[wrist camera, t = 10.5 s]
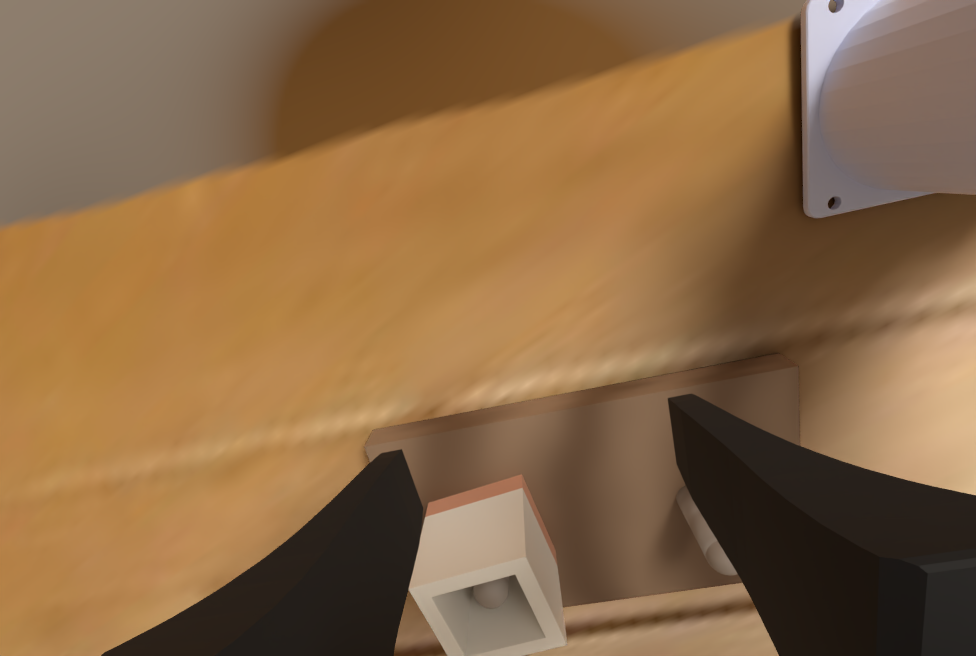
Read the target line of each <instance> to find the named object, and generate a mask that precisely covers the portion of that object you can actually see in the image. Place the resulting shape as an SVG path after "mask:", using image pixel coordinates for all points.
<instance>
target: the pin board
mask: <svg viewBox="0 0 976 656" xmlns="http://www.w3.org/2000/svg"><path fill="white" fill-rule="evenodd" d="M691 393H692V394H694V395H696V396H698V397H700V398H702V399H704V400H706V401H708V402H710V403H712V404H713V405H715V406H717V407H719V408H721V409H723V410H725V411H727V412H728V413H730V414H732V415H734V416H736V417H738V418H740V419H742V420H744V421H746V422H748V423H750V424H752V425H754V426H756V427H758V428H760V429H762V430H764V431H767V432H769V433H771V434H773V435H775V436H778V437H780V438H782V439H785V440H787V441H789V442H792V443H794V444H796V445H799V446H800V411H799V366H798V365H796V364H795V363H793V362H792V361H790V360H789V359H787V358H786V357H784V356H783V355H781V354H780V353H777V354H771V355H766V356H761V357H755V358H750V359H745V360H740V361H734V362H729V363H724V364H719V365H713V366H708V367H703V368H697V369H692V370H687V371H682V372H676V373H671V374H666V375H661V376H655V377H650V378H645V379H639V380H634V381H629V382H624V383H618V384H613V385H608V386H603V387H597V388H592V389H587V390H581V391H576V392H571V393H566V394H560V395H555V396H550V397H545V398H539V399H534V400H529V401H523V402H518V403H513V404H508V405H502V406H497V407H492V408H487V409H481V410H476V411H471V412H465V413H460V414H455V415H450V416H444V417H439V418H434V419H428V420H423V421H418V422H413V423H407V424H402V425H397V426H392V427H386V428H381V429H376V430H373V431H372V433H371V435H370V437H369V438H368V440H367V442H366V444H365V446H364V448H365V450H366V453H367V456H368V458H369V461H370V462H372V461H373V460H374V459H375V458H376V457H377V456H378V455H380V454H381V453H384V452H389V451H395V450H400V449H402V451H403V453H404V456H405V459H406V462H407V464H408V467H409V470H410V473H411V475H412V478H413V481H414V484H415V487H416V489H417V492H418V495H419V498H420V500H421V503H422V506H423V517H422V528H423V524H424V520H425V515H426V511H427V507H428V503H429V502H433V501H436V500H439V499H443V498H446V497H449V496H452V495H456V494H459V493H462V492H465V491H469V490H472V489H475V488H478V487H482V486H485V485H488V484H491V483H495V482H498V481H501V480H505V479H508V478H511V477H514V476H518V475H521V474H522V476H523V478H524V480H525V483H526V485H527V487H528V489H529V492H530V494H531V496H532V498H533V501H534V503H535V505H536V507H537V510H538V512H539V514H540V516H541V519H542V521H543V523H544V526H545V528H546V530H547V532H548V535H549V537H550V539H551V541H552V544H553V546H554V548H555V551H556V559H557V567H558V574H559V582H560V590H561V598H562V606H563V607H569V606H576V605H583V604H590V603H598V602H605V601H612V600H620V599H627V598H634V597H641V596H649V595H656V594H663V593H671V592H678V591H685V590H693V589H700V588H707V587H714V586H722V585H729V584H736V583H743V582H742V580H741V579H740V577H739V575H738V574H737V572H736V570H735V569H734V567H733V565H732V564H731V562H730V561H729V559H728V557H727V556H726V554H725V552H724V551H723V549H722V547H721V546H720V544H719V543H718V541H717V539H716V538H715V536H714V534H713V533H712V531H711V529H710V528H709V526H708V525H707V523H706V521H705V520H704V518H703V516H702V515H701V513H700V511H699V510H698V508H697V506H696V505H695V503H694V501H693V500H692V498H691V495H690V493H689V491H688V489H687V487H686V485H685V482H684V480H683V478H682V475H681V473H680V471H679V469H678V466H677V464H676V456H675V449H674V442H673V434H672V427H671V420H670V413H669V405H668V398H670V397H676V396H681V395H686V394H691ZM422 528H421V533H422ZM420 537H421V536H420ZM508 593H509V576H508V577H504V578H500V579H497V580H493V581H489V582H486V583H482V584H478V585H475V586H473V594H474V597H475V599H476V601H477V602H478V603H479V604H480V605H481V606H483V607H485V608H488V609H494V608H497V607H499V606H501V605H502V604H503V603H504V602H505V600H506V599H507V597H508Z"/></svg>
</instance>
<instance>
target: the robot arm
mask: <svg viewBox="0 0 976 656" xmlns="http://www.w3.org/2000/svg"><path fill="white" fill-rule="evenodd" d="M834 1H835V2H836V10H835V12H834V13H832V12H830V11H829V8H828V5H829V2H830V0H807V1H806V2H805V4H804V6H803V8H802V10H801V76H802V152H803V209H804V213H805V214H806V215H807V216H809V217H812V218H823V217H828V216H832V215H837V214H842V213H846V212H851V211H855V210H860V209H864V208H869V207H873V206H878V205H883V204H887V203H892V202H896V201H901V200H905V199H910V198H915V197H919V196H924V195H928V194H933V193H951V194H968V195H976V0H834ZM832 197H834V199H835V202H834V205H833V206H832V207H831V208H828V201H829V200H830V199H831V198H832ZM668 405H669V413H670V420H671V427H672V434H673V442H674V449H675V456H676V464H677V466H678V469H679V471H680V473H681V475H682V478H683V480H684V482H685V485H686V487H687V489H688V491H689V493H690V495H691V498H692V500H693V501H694V503H695V505H696V506H697V508H698V510H699V511H700V513H701V515H702V516H703V518H704V520H705V521H706V523H707V525H708V526H709V528H710V529H711V531H712V533H713V534H714V536H715V538H716V539H717V541H718V543H719V544H720V546H721V547H722V549H723V551H724V552H725V554H726V556H727V557H728V559H729V561H730V562H731V564H732V565H733V567H734V569H735V570H736V572H737V574H738V575H739V577H740V579H741V580H742V582H743V584H744V586H745V588H746V589H747V591H748V593H749V595H750V597H751V599H752V601H753V603H754V605H755V607H756V609H757V611H758V613H759V615H760V617H761V619H762V621H763V623H764V625H765V627H766V629H767V631H768V633H769V635H770V637H771V640H772V642H773V644H774V646H775V648H776V650H777V652H778V654H779V656H976V495H971V494H966V493H961V492H957V491H952V490H947V489H942V488H938V487H933V486H929V485H925V484H920V483H916V482H912V481H908V480H904V479H900V478H896V477H893V476H889V475H886V474H882V473H879V472H875V471H871V470H868V469H864V468H861V467H858V466H855V465H852V464H848V463H845V462H842V461H839V460H837V459H834V458H831V457H828V456H825V455H822V454H820V453H817V452H814V451H811V450H809V449H806V448H804V447H801V446H799V445H796V444H794V443H792V442H789V441H787V440H785V439H782V438H780V437H778V436H775V435H773V434H771V433H769V432H767V431H764V430H762V429H760V428H758V427H756V426H754V425H752V424H750V423H748V422H746V421H744V420H742V419H740V418H738V417H736V416H734V415H732V414H730V413H728V412H727V411H725V410H723V409H721V408H719V407H717V406H715V405H713V404H712V403H710V402H708V401H706V400H704V399H702V398H700V397H698V396H696V395H694V394H692V393H691V394H686V395H681V396H676V397H670V398H668ZM422 517H423V506H422V503H421V500H420V498H419V495H418V492H417V489H416V487H415V484H414V481H413V478H412V475H411V473H410V470H409V467H408V464H407V462H406V459H405V456H404V453H403V451H402V449H400V450H395V451H389V452H384V453H381V454H380V455H378V456H377V457H376V458H375V459H374V460H373V461H372V462H370V463H369V464H368V465H367V466H366V467H365V468H364V469H363V470H362V471H361V472H360V473H359V474H358V475H357V476H356V477H355V478H354V479H353V480H352V481H351V482H350V483H349V484H348V485H347V486H346V487H345V488H344V489H343V490H342V491H341V492H340V493H339V494H338V495H337V496H336V497H335V498H334V499H333V500H332V501H331V502H330V503H329V504H327V505H326V506H325V507H324V508H323V509H322V510H321V511H320V512H319V513H318V514H317V515H315V516H314V517H313V518H312V519H311V520H310V521H309V522H308V523H307V524H306V525H305V526H303V527H302V528H301V529H300V530H299V531H298V532H297V533H295V534H294V535H293V536H292V537H291V538H289V539H288V540H287V541H286V542H284V543H283V544H282V545H281V546H279V547H278V548H277V549H275V550H274V551H273V552H272V553H270V554H269V555H268V556H266V557H265V558H264V559H262V560H261V561H260V562H258V563H257V564H255V565H254V566H252V567H251V568H250V569H248V570H247V571H245V572H244V573H242V574H241V575H239V576H238V577H236V578H235V579H234V580H232V581H231V582H229V583H228V584H226V585H225V586H223V587H222V588H220V589H219V590H217V591H216V592H214V593H212V594H211V595H209V596H207V597H206V598H204V599H203V600H201V601H199V602H198V603H196V604H194V605H193V606H191V607H189V608H188V609H186V610H184V611H182V612H181V613H179V614H177V615H176V616H174V617H172V618H170V619H168V620H167V621H165V622H163V623H161V624H159V625H157V626H155V627H154V628H152V629H150V630H148V631H146V632H144V633H142V634H140V635H138V636H136V637H134V638H132V639H130V640H128V641H127V642H125V643H123V644H121V645H119V646H117V647H115V648H113V649H111V650H109V651H107V652H105V653H103V654H102V655H101V656H393V655H394V648H395V643H396V638H397V633H398V628H399V624H400V620H401V616H402V612H403V608H404V604H405V600H406V596H407V592H408V589H409V585H410V581H411V577H412V573H413V569H414V565H415V561H416V556H417V552H418V548H419V544H420V536H421V528H422Z"/></svg>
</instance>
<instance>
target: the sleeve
mask: <svg viewBox="0 0 976 656" xmlns="http://www.w3.org/2000/svg"><path fill="white" fill-rule="evenodd" d="M508 576H509V593H508V597H507V599H506V600H505V602H504V603H503V604H502V605H501V606H499V607H497V608H494V609H488V608H485V607H483V606H481V605H480V604H479V603H478V602H477V601H476V599H475V597H474V594H473V586H475V585H478V584H482V583H486V582H489V581H493V580H497V579H500V578H504V577H508ZM408 590H409V591H410V593H411V595H412V596H413V598H414V600H415V601H416V603H417V605H418V606H419V608H420V610H421V612H422V613H423V615H424V617H425V618H426V620H427V622H428V623H429V625H430V627H431V628H432V630H433V632H434V634H435V635H436V637H437V639H438V640H439V642H440V644H441V645H442V647H443V649H444V650H445V652H446V654H447V656H524V655H529V654H533V653H537V652H541V651H545V650H549V649H554V648H558V647H562V646H566V645H567V637H566V630H565V622H564V614H563V606H562V598H561V590H560V582H559V574H558V567H557V559H556V551H555V548H554V546H553V544H552V541H551V539H550V537H549V535H548V532H547V530H546V528H545V526H544V523H543V521H542V519H541V516H540V514H539V512H538V510H537V507H536V505H535V503H534V501H533V498H532V496H531V494H530V492H529V489H528V487H527V485H526V483H525V480H524V478H523V476H522V474H521V475H518V476H514V477H511V478H508V479H505V480H501V481H498V482H495V483H491V484H488V485H485V486H482V487H478V488H475V489H472V490H469V491H465V492H462V493H459V494H456V495H452V496H449V497H446V498H443V499H439V500H436V501H433V502H429V503H428V507H427V511H426V515H425V520H424V524H423V528H422V533H421V537H420V544H419V548H418V552H417V556H416V561H415V565H414V569H413V573H412V577H411V581H410V585H409V589H408Z"/></svg>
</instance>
